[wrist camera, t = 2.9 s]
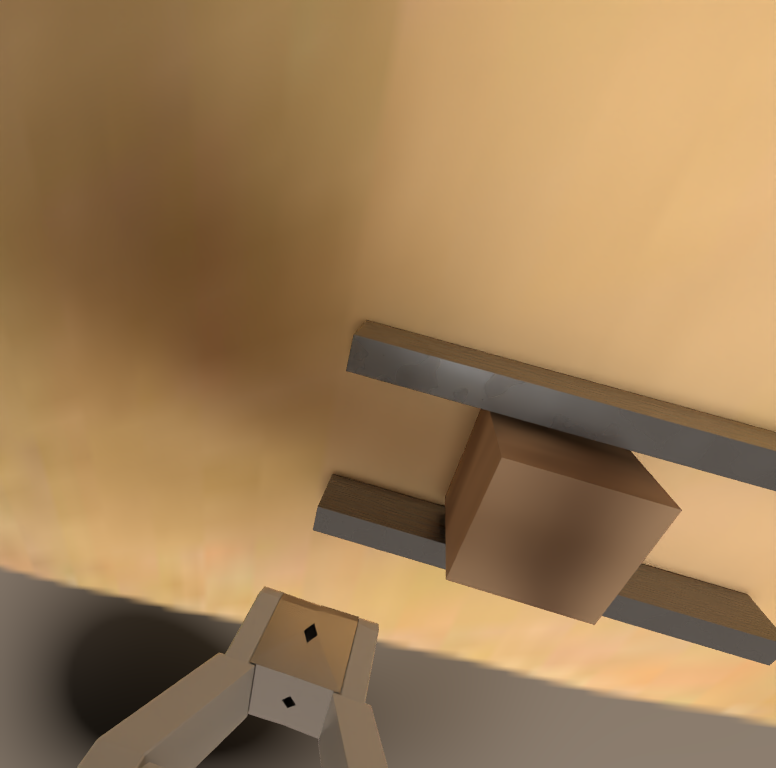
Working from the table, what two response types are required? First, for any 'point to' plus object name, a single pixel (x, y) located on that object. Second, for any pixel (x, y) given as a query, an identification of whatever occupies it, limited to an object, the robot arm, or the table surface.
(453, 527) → the walnut block
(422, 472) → the table surface
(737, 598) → the grey parallel rails
